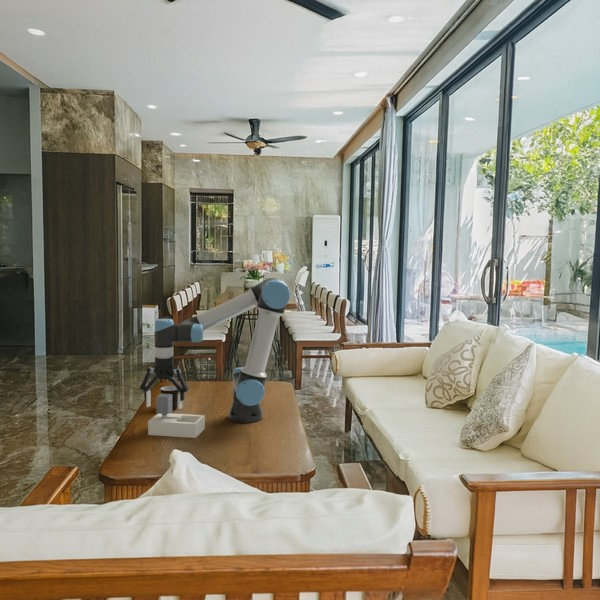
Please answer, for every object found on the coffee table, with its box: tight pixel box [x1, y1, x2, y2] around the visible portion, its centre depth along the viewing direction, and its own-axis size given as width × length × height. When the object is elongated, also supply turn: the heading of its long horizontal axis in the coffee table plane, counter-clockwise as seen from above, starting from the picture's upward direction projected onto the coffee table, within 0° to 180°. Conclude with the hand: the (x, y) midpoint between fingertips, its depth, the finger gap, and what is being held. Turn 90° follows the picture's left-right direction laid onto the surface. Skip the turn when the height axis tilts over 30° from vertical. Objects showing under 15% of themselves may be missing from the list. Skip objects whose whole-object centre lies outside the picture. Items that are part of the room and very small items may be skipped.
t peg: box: [155, 393, 173, 419], centre depth 230 cm, size 7×7×14 cm
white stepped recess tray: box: [147, 412, 206, 439], centre depth 230 cm, size 20×12×6 cm, turn 82°
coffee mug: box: [160, 385, 179, 412], centre depth 264 cm, size 12×9×10 cm
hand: (164, 407), depth 230 cm, fingers open, 13 cm apart
